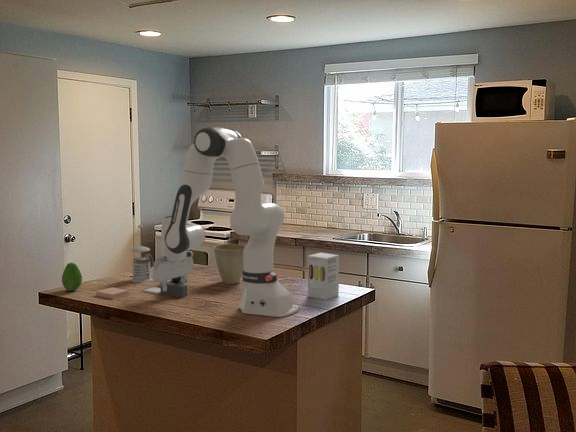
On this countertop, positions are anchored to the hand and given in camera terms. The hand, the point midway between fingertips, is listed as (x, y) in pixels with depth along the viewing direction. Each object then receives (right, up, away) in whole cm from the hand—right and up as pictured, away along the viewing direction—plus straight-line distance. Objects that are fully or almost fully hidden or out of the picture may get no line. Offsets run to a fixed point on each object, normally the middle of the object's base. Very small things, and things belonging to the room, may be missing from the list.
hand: (173, 288), depth 240 cm
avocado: (-43, -2, +7) cm, 44 cm away
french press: (-19, 0, +26) cm, 32 cm away
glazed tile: (-20, -2, -3) cm, 21 cm away
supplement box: (+61, -3, -2) cm, 61 cm away
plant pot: (+21, 0, +22) cm, 31 cm away
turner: (-3, -2, +3) cm, 5 cm away
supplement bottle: (-2, 0, +23) cm, 23 cm away
